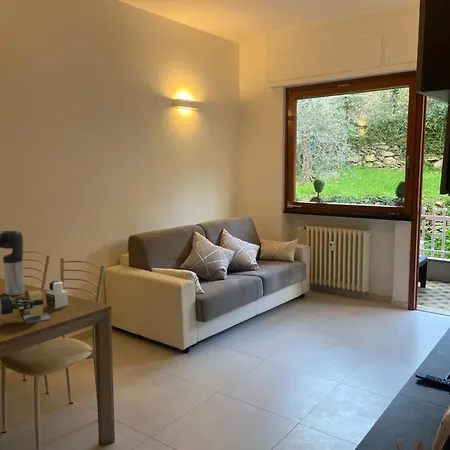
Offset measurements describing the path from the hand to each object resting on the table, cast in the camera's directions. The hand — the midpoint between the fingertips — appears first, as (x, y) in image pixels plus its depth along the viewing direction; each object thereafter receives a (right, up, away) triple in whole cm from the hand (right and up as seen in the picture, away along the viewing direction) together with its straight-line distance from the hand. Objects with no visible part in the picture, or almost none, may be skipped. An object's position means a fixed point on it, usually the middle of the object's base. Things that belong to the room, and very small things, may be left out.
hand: (41, 300), depth 206 cm
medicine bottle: (+1, -6, +17) cm, 18 cm away
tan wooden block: (-2, -6, 0) cm, 7 cm away
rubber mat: (-2, -8, 0) cm, 8 cm away
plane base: (-11, -6, +14) cm, 19 cm away
